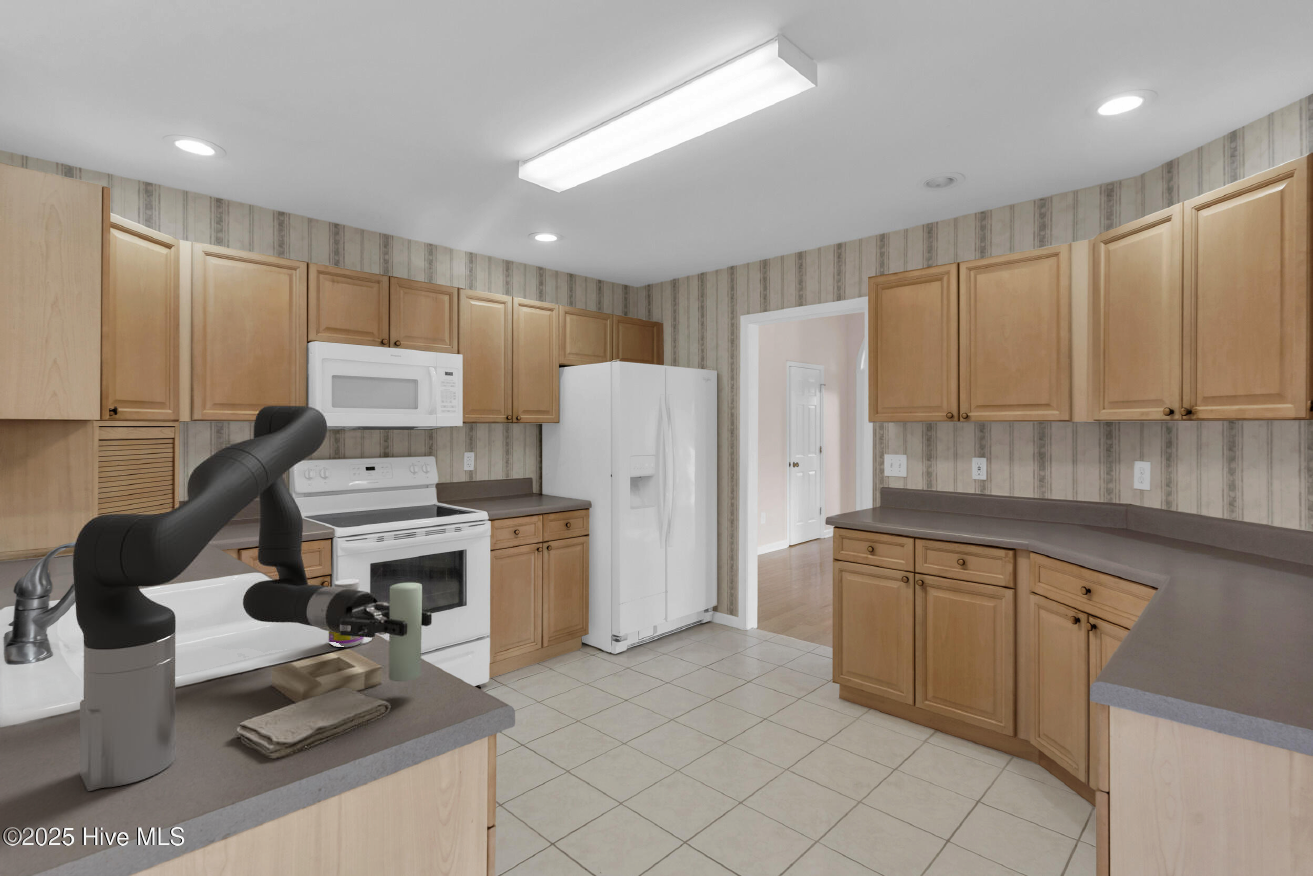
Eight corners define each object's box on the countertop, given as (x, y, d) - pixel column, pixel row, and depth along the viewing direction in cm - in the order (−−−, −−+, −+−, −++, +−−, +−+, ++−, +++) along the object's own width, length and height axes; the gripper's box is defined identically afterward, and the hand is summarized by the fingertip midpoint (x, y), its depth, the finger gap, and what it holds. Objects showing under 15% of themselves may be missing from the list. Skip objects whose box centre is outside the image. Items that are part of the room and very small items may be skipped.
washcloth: (229, 742, 92) (229, 721, 92) (346, 698, 107) (346, 679, 107) (274, 766, 85) (274, 744, 85) (391, 716, 101) (392, 696, 101)
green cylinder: (398, 684, 103) (399, 592, 103) (383, 675, 107) (384, 586, 106) (426, 675, 107) (427, 586, 107) (411, 667, 110) (412, 581, 110)
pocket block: (302, 707, 102) (302, 688, 102) (271, 685, 110) (271, 667, 110) (381, 683, 112) (381, 666, 112) (348, 664, 120) (348, 648, 120)
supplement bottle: (331, 639, 134) (332, 578, 134) (366, 636, 136) (366, 576, 136) (325, 650, 128) (326, 586, 127) (361, 647, 130) (362, 584, 129)
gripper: (306, 599, 105) (385, 613, 99) (374, 580, 119) (448, 591, 112) (306, 644, 106) (384, 661, 99) (374, 620, 119) (447, 633, 112)
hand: (417, 624), depth 106 cm, fingers closed on green cylinder, 5 cm apart
